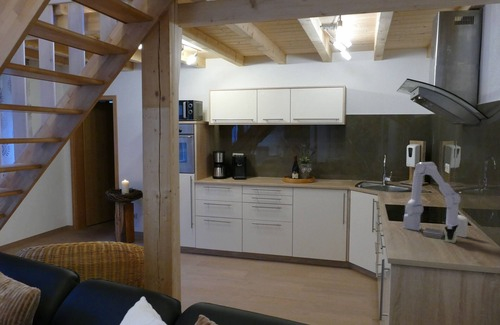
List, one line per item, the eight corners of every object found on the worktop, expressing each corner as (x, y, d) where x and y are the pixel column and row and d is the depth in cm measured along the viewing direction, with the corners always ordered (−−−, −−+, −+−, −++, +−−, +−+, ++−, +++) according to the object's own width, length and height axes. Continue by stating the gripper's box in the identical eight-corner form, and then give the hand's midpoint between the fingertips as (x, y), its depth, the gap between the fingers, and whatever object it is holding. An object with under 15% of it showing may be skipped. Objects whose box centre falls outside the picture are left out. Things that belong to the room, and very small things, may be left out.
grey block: (422, 236, 226) (422, 231, 226) (426, 232, 234) (426, 227, 234) (441, 239, 221) (441, 234, 220) (444, 235, 229) (444, 230, 228)
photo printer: (447, 233, 231) (448, 213, 229) (451, 232, 233) (452, 212, 231) (463, 238, 222) (465, 217, 220) (468, 236, 224) (469, 216, 222)
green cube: (445, 241, 216) (445, 232, 216) (446, 238, 220) (446, 230, 220) (454, 242, 213) (455, 234, 213) (456, 240, 217) (456, 231, 217)
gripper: (458, 218, 207) (456, 243, 208) (461, 213, 219) (460, 236, 220) (444, 216, 211) (442, 240, 213) (448, 211, 223) (446, 234, 224)
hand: (450, 238), depth 217 cm, fingers closed on green cube, 5 cm apart
